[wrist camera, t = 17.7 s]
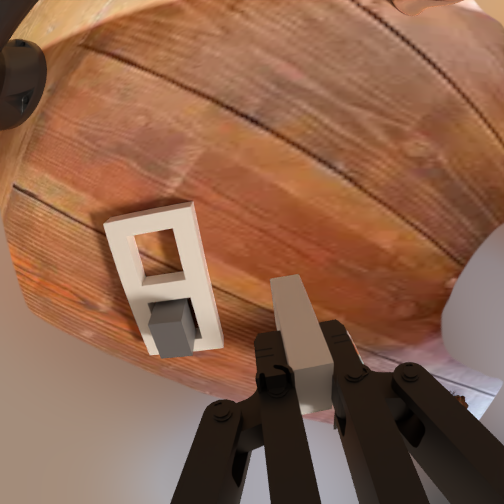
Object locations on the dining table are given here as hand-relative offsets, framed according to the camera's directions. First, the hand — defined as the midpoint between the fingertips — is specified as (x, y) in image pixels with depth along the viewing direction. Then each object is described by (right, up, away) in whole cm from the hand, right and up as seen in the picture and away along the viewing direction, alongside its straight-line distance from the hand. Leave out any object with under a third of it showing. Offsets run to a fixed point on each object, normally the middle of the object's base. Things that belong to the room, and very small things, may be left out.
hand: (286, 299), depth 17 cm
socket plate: (-15, -2, +32) cm, 35 cm away
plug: (-14, -7, +34) cm, 38 cm away
